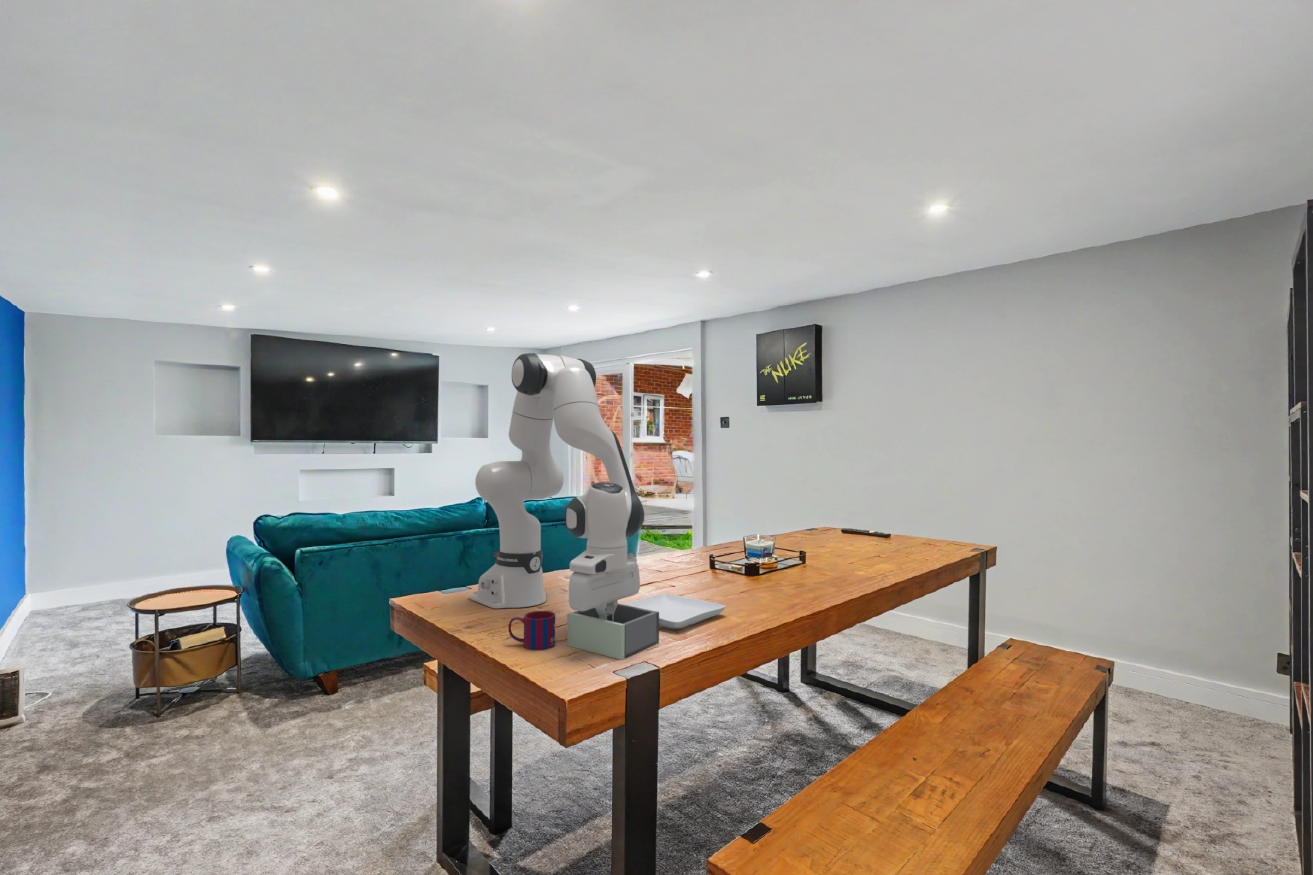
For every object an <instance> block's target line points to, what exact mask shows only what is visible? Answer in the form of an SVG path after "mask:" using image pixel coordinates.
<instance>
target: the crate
mask: <svg viewBox="0 0 1313 875" xmlns="http://www.w3.org/2000/svg"><path fill="white" fill-rule="evenodd" d="M607 606H608V604H607ZM605 610H607V608H606V609H605ZM572 613H576V614H581V615H585V616H590V617H594V618H599V615H598V613H597V611H596V609H595V608H592V609H589V610H586V611H578V610H575V611H574V612H572ZM612 622H617V623H621V624H625V659H627V658H629V657H632V656H634V655H636V654H639V653H640V652H642V651H645V650H648V648H651V647H653V646H656V645H657V644H659V643H660V627H659V612H657V611H652V610H647V609H642V608H637V607H632V606H627V605H623V604H621V603H618V605H617V608H616V610H615V613H614V621H612Z"/></svg>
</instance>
